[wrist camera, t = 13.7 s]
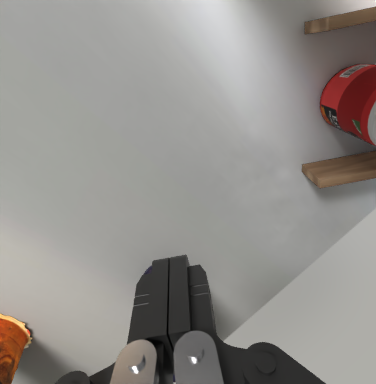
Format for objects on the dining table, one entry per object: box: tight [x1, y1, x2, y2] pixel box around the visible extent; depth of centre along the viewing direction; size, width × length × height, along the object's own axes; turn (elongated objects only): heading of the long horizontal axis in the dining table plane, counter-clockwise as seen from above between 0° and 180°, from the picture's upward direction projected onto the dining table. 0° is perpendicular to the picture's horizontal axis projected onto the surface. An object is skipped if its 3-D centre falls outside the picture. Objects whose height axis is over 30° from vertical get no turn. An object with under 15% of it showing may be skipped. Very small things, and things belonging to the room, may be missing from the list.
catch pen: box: [302, 7, 376, 188], centre depth 33 cm, size 19×14×6 cm
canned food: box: [320, 64, 376, 146], centre depth 30 cm, size 8×8×11 cm
